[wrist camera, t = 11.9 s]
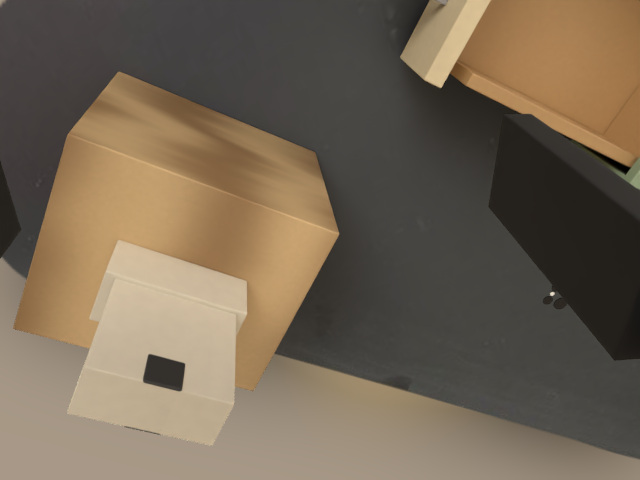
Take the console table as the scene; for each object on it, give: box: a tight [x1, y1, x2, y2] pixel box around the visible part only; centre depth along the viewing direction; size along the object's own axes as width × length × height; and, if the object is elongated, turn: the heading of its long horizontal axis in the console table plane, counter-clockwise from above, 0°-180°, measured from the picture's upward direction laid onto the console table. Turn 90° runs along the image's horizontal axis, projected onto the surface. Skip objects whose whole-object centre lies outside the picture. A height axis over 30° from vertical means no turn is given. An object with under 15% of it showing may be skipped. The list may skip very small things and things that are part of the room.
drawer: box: [400, 0, 640, 168], centre depth 33 cm, size 21×13×6 cm, turn 64°
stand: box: [13, 72, 339, 391], centre depth 35 cm, size 14×12×12 cm
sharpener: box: [67, 240, 247, 446], centre depth 26 cm, size 7×3×9 cm, turn 64°
